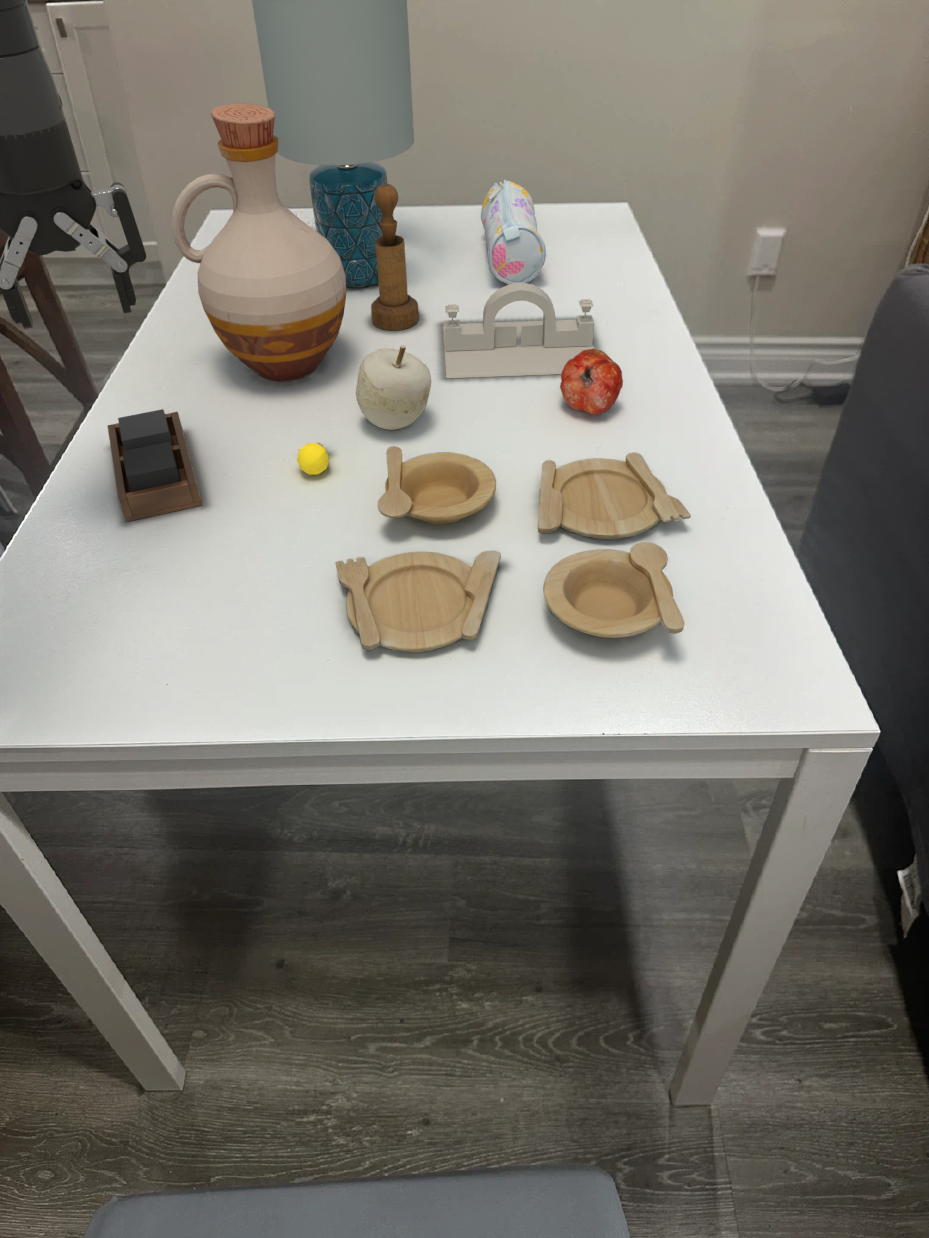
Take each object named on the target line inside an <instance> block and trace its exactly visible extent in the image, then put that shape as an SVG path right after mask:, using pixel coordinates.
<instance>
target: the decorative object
mask: <svg viewBox="0 0 929 1238" xmlns="http://www.w3.org/2000/svg"><path fill="white" fill-rule="evenodd" d="M406 349H407V346H406V345H404V344H401V345H400V347H399V349H395V348H380V349H378V350H375V351H372V352H370V353H369V354H367V355H366V356H365V357H363V359H362V360H361V363H360V365H359V368H358V373H357V381H356V387H355V397H356V402H357V405H358V408H359V410H360V412H361V414H362V415H363V416H364V417H365V418H366V420H368V422H369V423H371V424H372V425H374V426H375V427H378V428H380V429H383V430H389V431H390V430H391V431H393V430H400V429H403V428H405V427H406V428H407V427H408V426H410V425H412V424H413V423H414V422H415V421H416V420H417V419H419V417H420V416H421V415H422V414H423V412H424V411H425V409H426V407H427V404H428V402H429V401H428V400H429V396H430V392H431V388H432V375H431V372H430V368H429V367H428V365H426V364H425V363H424V361H422V360H421V359H419V358H418V357H417V356H415V355H413V354H411V353H409V352H407V351H406Z"/></svg>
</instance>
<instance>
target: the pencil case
mask: <svg viewBox="0 0 929 1238" xmlns="http://www.w3.org/2000/svg"><path fill="white" fill-rule="evenodd" d="M532 198H533V197H532V196H531V194H530V193H529V192H528V190H526V189H525V188H524V187H523V186H522V185H520V184H518V183H516V182H513V181H510V180H506V179H503V180H502V181H500V182H499V183H498V182H494V184H493V185H492V186H491V187H490V189H489V190H488V192H487V194H486V195H485V198H484V200H483V203H482V205H481V211H480V220H481V224H482V228H483V231H484V239H485V244H486V247H487V261H488V266H489V269H490V271H491V273H492V274H493V275H494V277H495V278H496V279H497V280H499V281H500V282H502V283H504V284H506V285H509V284H513V283H519V282H520V283H528V284H529V282H531V281H532V280H533V279H535V277H537V276H538V274H539V273H540V272H541V271H542V269H543V267H544V265H545V264H546V263H545V262H546V257H547V249H546V244H545V242H544V240H543V238H542V236H541V235H540V233H539V230H538V224H537V218H536V216H535V215H536V210H535V204H534V201H533V199H532Z"/></svg>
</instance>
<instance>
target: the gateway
mask: <svg viewBox="0 0 929 1238" xmlns="http://www.w3.org/2000/svg"><path fill="white" fill-rule="evenodd" d="M520 301H522V302H528V303H531V304H533V305H535V306H537V307H538V308H539V309H540V310H541V311H542V313H543V315H542V320H541V321H542V324H535V325H522V326H521V327H520V346H521V347H533V346H543V348H544V349H545V348H573V347H592V346H593V347H594V343H593V341H594V332H595V322H594V318H593V315H592V314H587V313H590V312H591V309H592V307H595V306H594V302H593V300H591V299H590V298H587V299H585V298H584V299H581V300H578V304H579V307H580V308H581V311H582V313H584V315H576V317H575V319H572V320H573V321H571V322H557V320H558V319H557V318H556V311H555V307H554V304H553V302H552V299H551V297H550V296H549V294H548V293H546V291H544V290H543V289H542V288H541V287H538V286H537V285H534V284H531V283H529V282H528V283H520V282H519V283H513V284H506V285H504V286H502V287H500V288H499V289H497V290H495V291H494V292H493V293H492V294H491V295H490V296H489V298H488V299H487V301H486V302H485V304H484V307H483V312H482V322H481V323H482V325H464V324H465V323H461V320H460V319H454V318H457V314H458V313H459V312H460V306H459V305H457V304H447V305H445V306H444V307H445V308H444V310H445V313H446V314H447V315H448V318H449V319H447V320H446V319H445V320H444V324H442V326H443V327H442V329H443V347H444V348H443V349H444V352H445V351H446V352H462V351H489V350H494V349H495V348H510V347H516V346H517V330H518V327H517V326H516V325H506V326H495V321H496V317H497V315H498V313H499V312H500V311H501V310H502V309H503V308H504V307H506V306H508V305H509V304H512V303H515V302H520Z"/></svg>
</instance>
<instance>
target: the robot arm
mask: <svg viewBox="0 0 929 1238" xmlns="http://www.w3.org/2000/svg"><path fill="white" fill-rule="evenodd" d="M37 33H38V32H37V30H36V26H35V23H34V20H33V16H32V13H31V9H30V7H29V3H28V0H0V231H1V232H3V233H4V234H5V235H6V236H8V237H7V240H6V243H5V245H4V250H3V252H2V254H1V257H0V292H1V294H2V297H3V300H4V302H5V305H6V307H7V310H8V312H9V315H10V318H11V320H12V321H13V322H14V323H15V324H21V325H22V328H23V329H24V330H27V329H33V327H34V325H33V318H32V315H31V312H30V309H29V307H28V304H27V301H26V298H25V296H24V293H23V291H22V288H21V284H20V281H19V279H18V278H17V275H18V272H19V271H20V269H21V268H22V265H23V263H24V260H25V258H26V255H27V253H28V252H29V253H32V254H36V256H37V257H40V256H46V255H50V254H51V253H54V252H64V253H65V252H66V253H68V252H75V251H77V250H76V249H77V248H79V247H80V246H82V247H84V248H85V249H86V250H88V251H89V252H90V253H91V254H93V256H95V257H96V258H99V259H101V261H103V262H104V263H105V264H107V265H108V266H109V267H110V271H111V274H112V278H113V281H114V285H115V288H116V291H117V295H118V299H119V301H120V306H121V308H122V312H123V314H130V313H132V308H131V307H132V306H136V304H137V297H136V293H135V289H134V286H133V282H132V279H131V278H132V277H131V275H130V269H131V267H132V266H133V265H135V264H137V263H143V262H145V261H146V260H147V253H146V249H145V246H144V243H143V240H142V236H141V233H140V230H139V227H138V224H137V222H136V218H135V215H134V212H133V209H132V206H131V203H130V199H129V196H128V194H127V191H126V188H125V186H124V185H123V184H122V183H121V182H118V181H115V182H113V183H111V185H110V187H107V188H101V189H97V190H96V189H95V190H91V188H89V187H88V186H87V183H86V182H85V180H84V178H83V174H82V171H81V167H80V164H79V160H78V157H77V154H76V150H75V147H74V143H73V140H72V136H71V133H70V130H69V127H68V124H67V120H66V119H67V118H66V116H65V112H64V109H63V101H62V99H61V96H60V94H59V92H58V89H57V85H56V82H55V80H54V76H53V73H52V71H51V69H50V66H49V65H48V61H47V59H46V57H45V55H44V52H43V49H42V46H41V44H40V40H39V37H38V34H37ZM97 207H102V208H103V209H104V210H105V211H106V213H107V215H109V216H110V217H113V218H118V219H119V222H120V224H121V228H122V231H123V234H124V237H125V240H126V243H127V244H125V245H123V246H121V247H118V246H117V245H116V244H115V243H113V242H112V240H110V239H109V238H108V237H106V235H105V234H104V233H103V232H102V231H101V230H100V229H99V228H98V227H97V226H96V225H94V224H93V223H92V221H93V219H94V216H95V213H96V210H97Z"/></svg>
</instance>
